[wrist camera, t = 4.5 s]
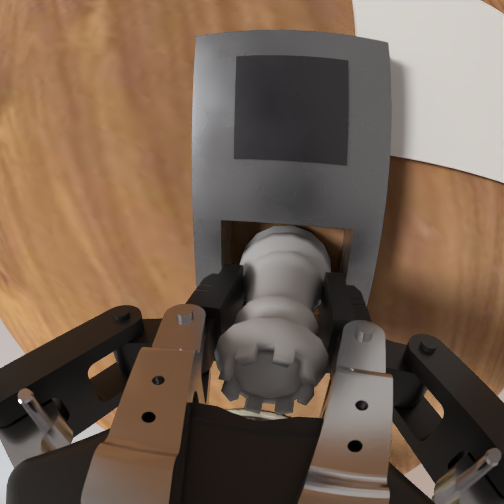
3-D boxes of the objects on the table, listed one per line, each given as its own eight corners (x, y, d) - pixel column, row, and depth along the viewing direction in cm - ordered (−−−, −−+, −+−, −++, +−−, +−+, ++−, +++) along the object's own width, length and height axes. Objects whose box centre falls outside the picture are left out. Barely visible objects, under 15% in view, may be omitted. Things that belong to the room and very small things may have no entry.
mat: (345, -42, 7) (345, -45, 7) (511, 22, 5) (514, 21, 5) (356, 150, 11) (358, 150, 11) (526, 191, 10) (530, 192, 9)
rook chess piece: (347, 253, 13) (389, 369, 6) (298, 317, 15) (288, 445, 7) (269, 204, 13) (227, 282, 6) (227, 277, 15) (163, 389, 7)
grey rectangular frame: (210, 49, 11) (195, 35, 9) (376, 56, 9) (388, 41, 8) (212, 335, 16) (202, 357, 14) (344, 348, 15) (348, 372, 13)
